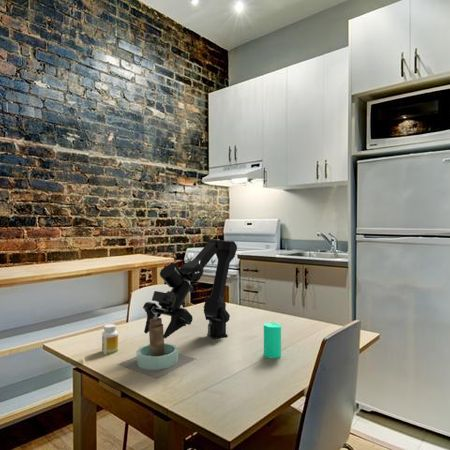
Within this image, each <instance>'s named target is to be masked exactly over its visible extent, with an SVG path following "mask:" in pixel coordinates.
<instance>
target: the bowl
mask: <svg viewBox="0 0 450 450" xmlns="http://www.w3.org/2000/svg"><path fill="white" fill-rule="evenodd" d="M164 351H165V355H163V356H150V343H147V344H145V345H142V346H140V347H139V348H138V349H137V350H136V356H137V365H138V366H139V367H141V368H143V369H146V370H160V369H165V368H169V367H171V366H173V365H175V364H176V363H177V361H178V353H179V347H178V346H177V345H175V344H173V343H169V342H164Z"/></svg>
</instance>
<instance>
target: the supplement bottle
mask: <svg viewBox="0 0 450 450" xmlns="http://www.w3.org/2000/svg"><path fill="white" fill-rule="evenodd" d="M116 328H117V325H116V324H112V323H110V324H109V323H108V324H105V325H104V326H103V330H104V331H103V332H102V334H101V353H102V354H103V355H113V354H114V355H115V353H118V352H119V332H118V331H117V330H116Z"/></svg>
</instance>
